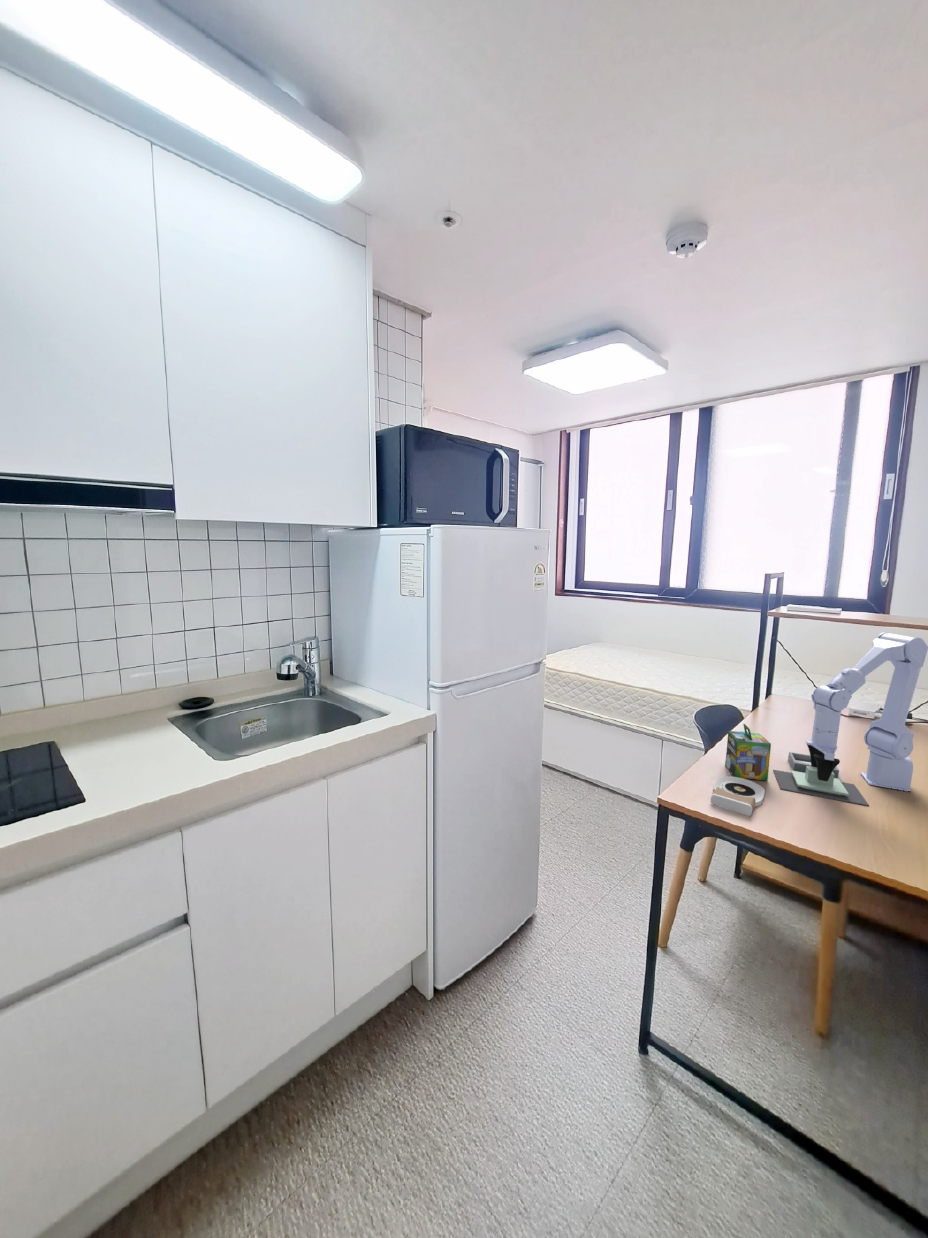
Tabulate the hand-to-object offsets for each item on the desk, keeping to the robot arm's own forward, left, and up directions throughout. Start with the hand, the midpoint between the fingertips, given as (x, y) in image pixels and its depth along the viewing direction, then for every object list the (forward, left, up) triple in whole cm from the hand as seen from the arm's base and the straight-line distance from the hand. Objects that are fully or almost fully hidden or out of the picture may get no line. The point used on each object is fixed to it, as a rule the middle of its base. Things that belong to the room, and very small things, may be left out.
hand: (819, 774), depth 137 cm
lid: (0, 0, -3) cm, 3 cm away
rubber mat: (0, 0, -4) cm, 4 cm away
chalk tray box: (-1, -12, -4) cm, 13 cm away
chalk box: (+18, -1, -4) cm, 18 cm away
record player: (+21, +16, -4) cm, 27 cm away
